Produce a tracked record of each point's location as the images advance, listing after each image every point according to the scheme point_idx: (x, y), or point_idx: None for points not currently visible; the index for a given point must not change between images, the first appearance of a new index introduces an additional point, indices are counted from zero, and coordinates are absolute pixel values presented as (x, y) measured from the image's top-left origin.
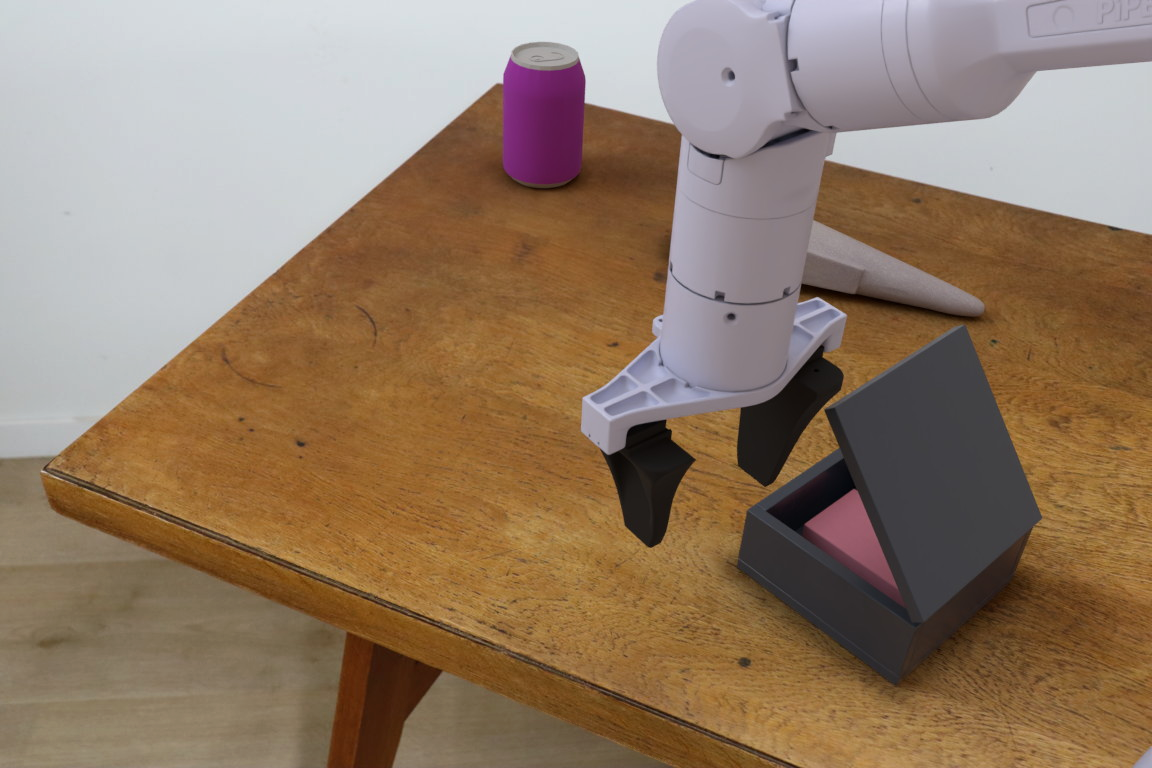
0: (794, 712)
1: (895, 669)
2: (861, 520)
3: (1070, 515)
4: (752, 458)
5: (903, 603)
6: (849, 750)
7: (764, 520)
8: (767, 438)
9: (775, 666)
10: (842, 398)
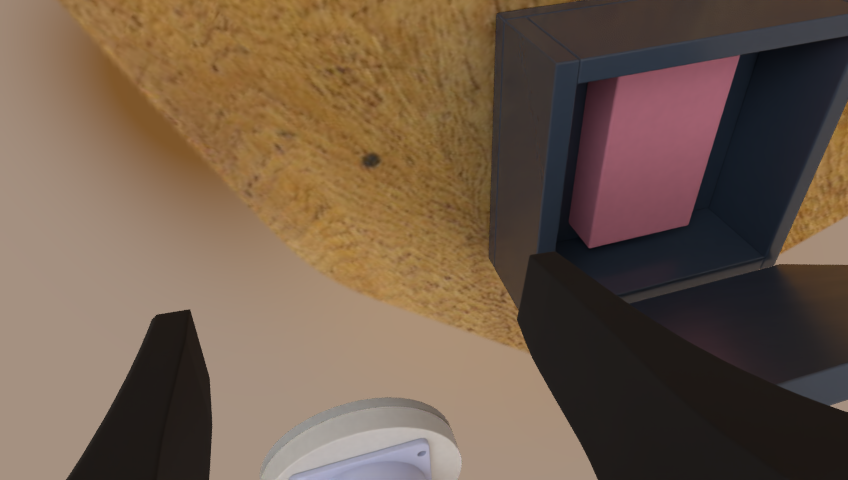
0: (369, 240)
1: (497, 269)
2: (679, 115)
3: (845, 166)
4: (545, 319)
5: (582, 227)
6: (383, 293)
7: (555, 102)
8: (583, 398)
9: (400, 183)
10: (800, 387)
